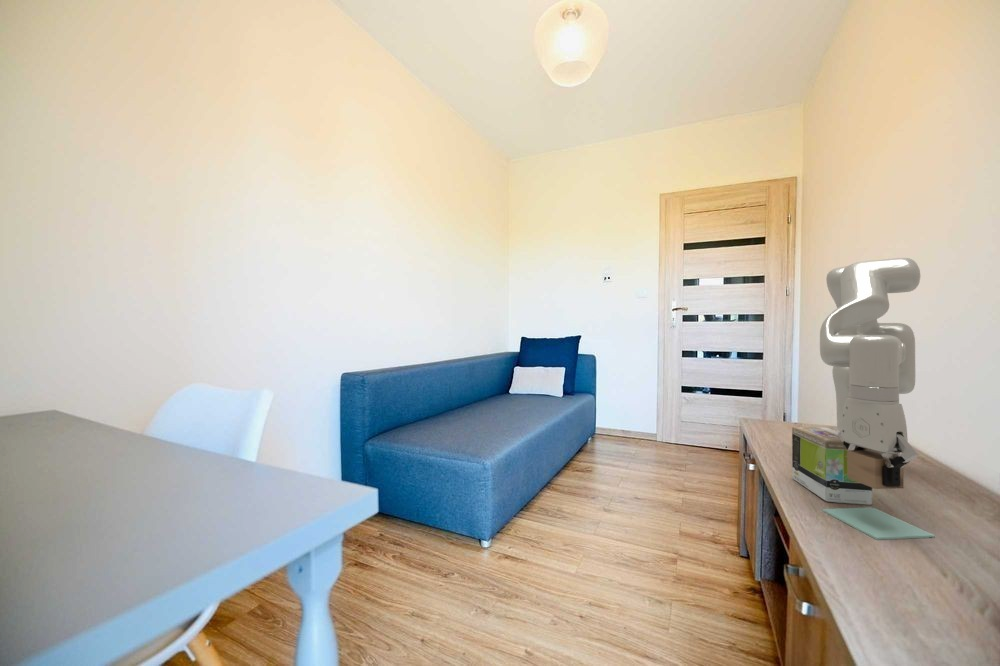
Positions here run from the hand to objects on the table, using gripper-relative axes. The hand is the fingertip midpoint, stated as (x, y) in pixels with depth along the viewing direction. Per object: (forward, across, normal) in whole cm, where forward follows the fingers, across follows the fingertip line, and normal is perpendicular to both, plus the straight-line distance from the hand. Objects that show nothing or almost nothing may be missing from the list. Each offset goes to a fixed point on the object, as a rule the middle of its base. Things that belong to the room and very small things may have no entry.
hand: (874, 479), depth 81 cm
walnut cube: (+1, 0, 0) cm, 1 cm away
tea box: (+10, -16, +5) cm, 20 cm away
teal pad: (+9, 0, 0) cm, 9 cm away
